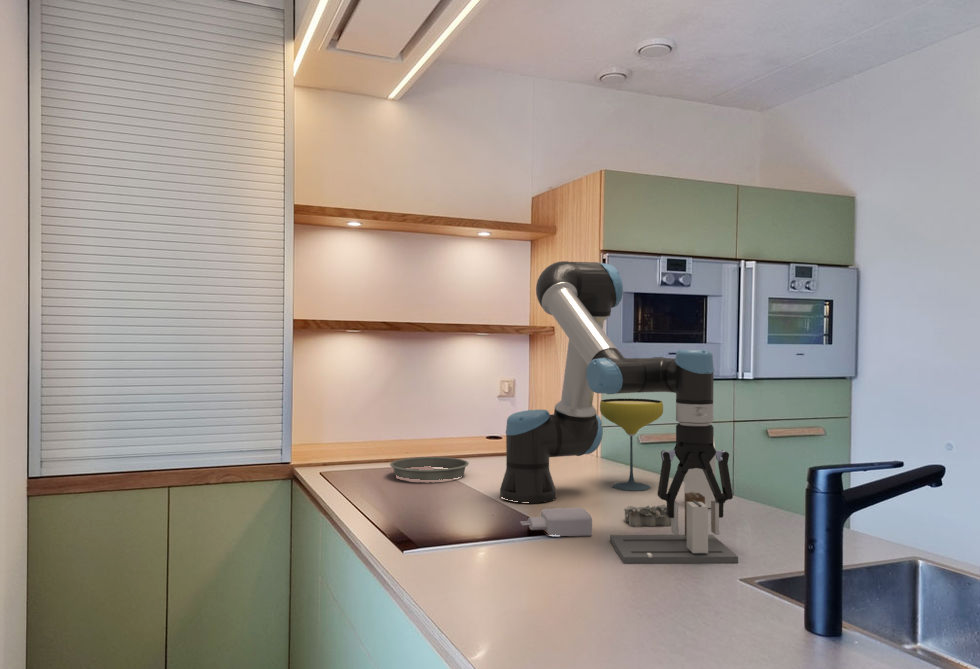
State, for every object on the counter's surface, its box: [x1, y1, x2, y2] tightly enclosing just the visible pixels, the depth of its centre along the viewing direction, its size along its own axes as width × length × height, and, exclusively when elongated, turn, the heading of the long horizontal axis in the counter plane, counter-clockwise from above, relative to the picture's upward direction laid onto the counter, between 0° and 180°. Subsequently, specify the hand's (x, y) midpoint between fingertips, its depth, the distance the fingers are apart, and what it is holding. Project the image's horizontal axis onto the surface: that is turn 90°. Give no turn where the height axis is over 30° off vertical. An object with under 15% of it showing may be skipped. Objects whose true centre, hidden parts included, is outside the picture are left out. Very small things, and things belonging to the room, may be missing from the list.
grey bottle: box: [519, 506, 593, 537], centre depth 155 cm, size 5×9×15 cm
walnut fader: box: [684, 492, 705, 537], centre depth 145 cm, size 3×4×9 cm
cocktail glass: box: [599, 398, 664, 492], centre depth 202 cm, size 18×18×25 cm
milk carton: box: [683, 442, 716, 509], centre depth 180 cm, size 7×7×19 cm
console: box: [609, 534, 739, 564], centre depth 141 cm, size 22×15×2 cm
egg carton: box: [623, 503, 671, 528], centre depth 163 cm, size 11×8×4 cm
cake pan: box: [389, 456, 469, 480], centre depth 219 cm, size 25×25×4 cm
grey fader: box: [686, 500, 709, 553], centre depth 137 cm, size 3×4×9 cm
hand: (694, 533), depth 145 cm, fingers open, 8 cm apart
